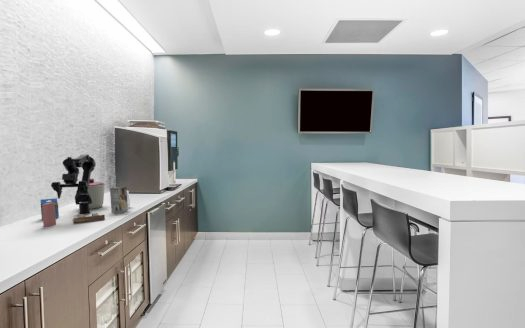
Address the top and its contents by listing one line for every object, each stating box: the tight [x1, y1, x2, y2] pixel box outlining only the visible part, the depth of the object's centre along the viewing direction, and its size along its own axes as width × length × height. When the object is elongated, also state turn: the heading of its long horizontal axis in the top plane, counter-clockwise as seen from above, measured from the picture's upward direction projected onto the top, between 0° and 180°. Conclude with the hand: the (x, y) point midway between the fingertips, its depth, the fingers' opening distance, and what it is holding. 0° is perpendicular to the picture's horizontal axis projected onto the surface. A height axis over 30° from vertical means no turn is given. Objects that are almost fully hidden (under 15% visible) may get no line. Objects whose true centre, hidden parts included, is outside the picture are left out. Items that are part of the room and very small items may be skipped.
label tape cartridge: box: [40, 197, 60, 220], centre depth 207 cm, size 9×4×12 cm, turn 115°
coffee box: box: [109, 186, 129, 214], centre depth 223 cm, size 9×6×16 cm
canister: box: [88, 178, 106, 210], centre depth 241 cm, size 18×18×21 cm
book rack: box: [72, 212, 106, 225], centre depth 199 cm, size 11×16×3 cm
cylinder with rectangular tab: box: [127, 190, 131, 209], centre depth 238 cm, size 9×9×12 cm
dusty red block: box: [42, 201, 57, 228], centre depth 187 cm, size 6×3×12 cm, turn 178°
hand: (67, 198), depth 193 cm, fingers open, 9 cm apart
